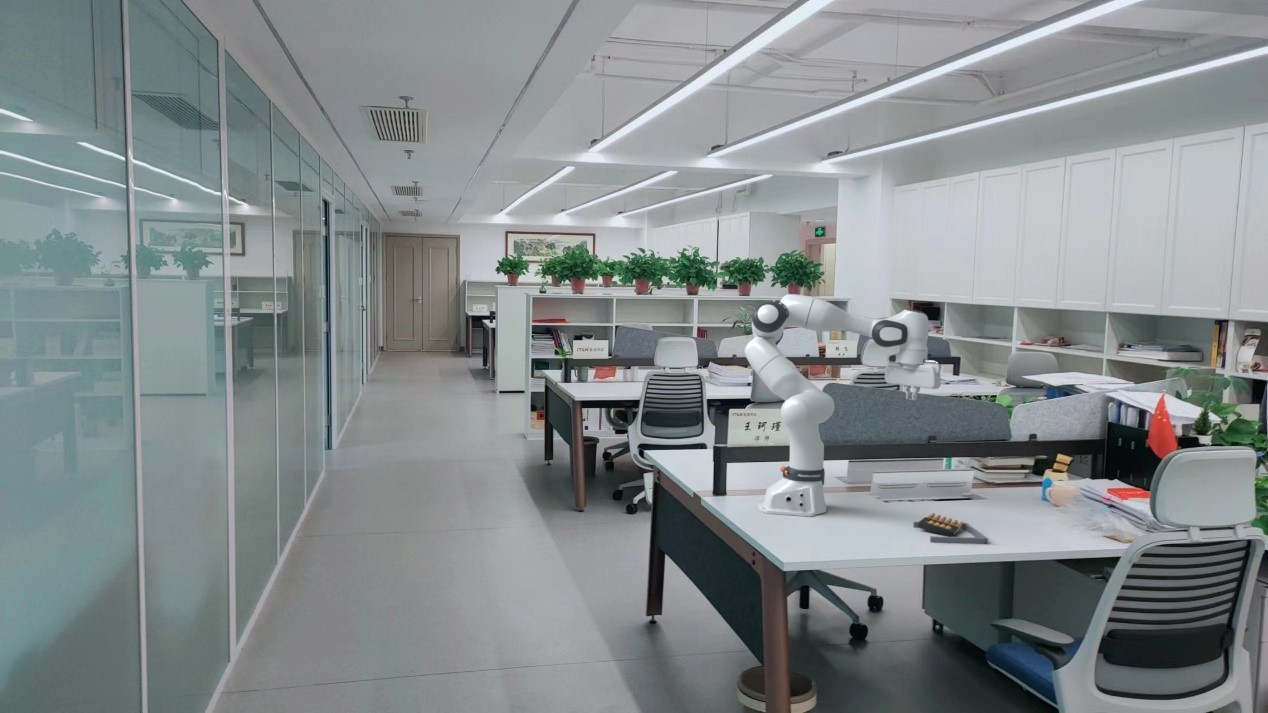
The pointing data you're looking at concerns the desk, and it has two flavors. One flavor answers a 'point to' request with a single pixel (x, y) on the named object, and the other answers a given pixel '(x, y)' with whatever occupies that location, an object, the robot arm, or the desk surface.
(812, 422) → the robot arm
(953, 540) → the grey frame
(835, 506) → the desk surface
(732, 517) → the desk surface
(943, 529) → the ammunition clip
